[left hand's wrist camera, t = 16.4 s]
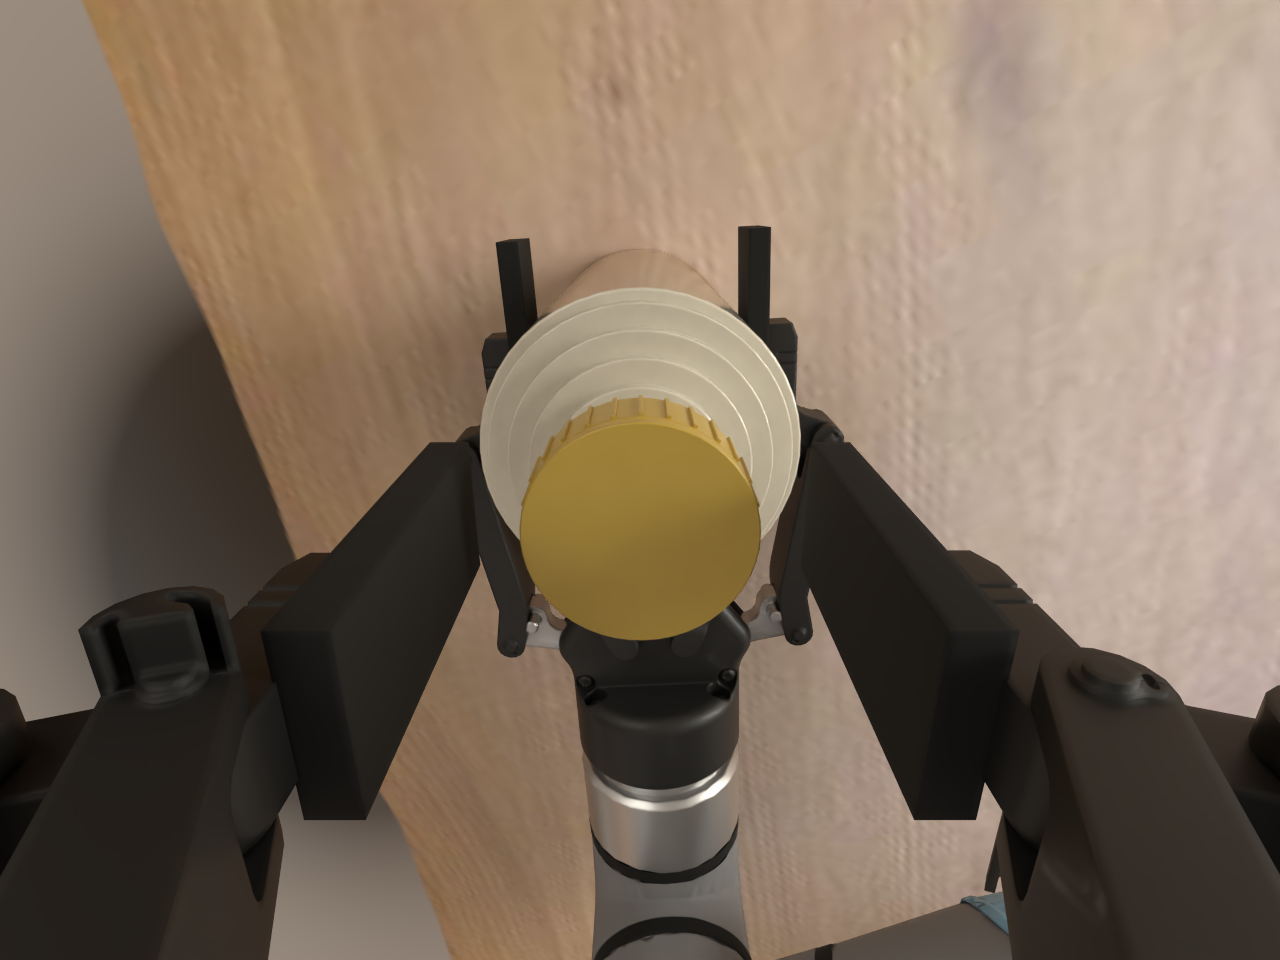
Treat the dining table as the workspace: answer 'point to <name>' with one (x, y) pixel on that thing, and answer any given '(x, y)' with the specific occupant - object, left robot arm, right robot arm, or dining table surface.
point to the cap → (640, 520)
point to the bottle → (640, 374)
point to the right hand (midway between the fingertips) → (633, 234)
